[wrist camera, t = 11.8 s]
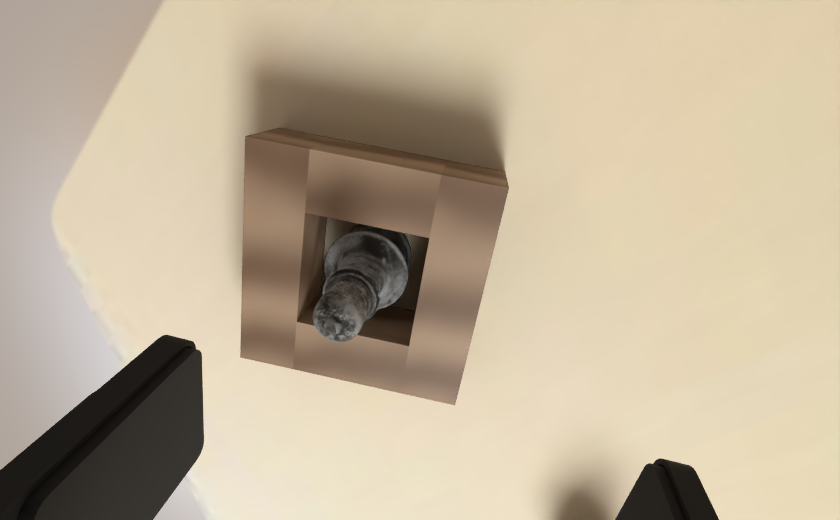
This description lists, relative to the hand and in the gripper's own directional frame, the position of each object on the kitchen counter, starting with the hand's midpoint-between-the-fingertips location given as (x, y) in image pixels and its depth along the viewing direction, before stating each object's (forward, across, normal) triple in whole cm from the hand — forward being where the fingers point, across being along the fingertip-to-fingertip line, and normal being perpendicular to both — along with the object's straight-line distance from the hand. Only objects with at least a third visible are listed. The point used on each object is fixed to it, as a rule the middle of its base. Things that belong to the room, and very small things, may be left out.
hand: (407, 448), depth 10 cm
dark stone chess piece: (+24, +5, +7) cm, 26 cm away
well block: (+24, +6, +8) cm, 26 cm away
